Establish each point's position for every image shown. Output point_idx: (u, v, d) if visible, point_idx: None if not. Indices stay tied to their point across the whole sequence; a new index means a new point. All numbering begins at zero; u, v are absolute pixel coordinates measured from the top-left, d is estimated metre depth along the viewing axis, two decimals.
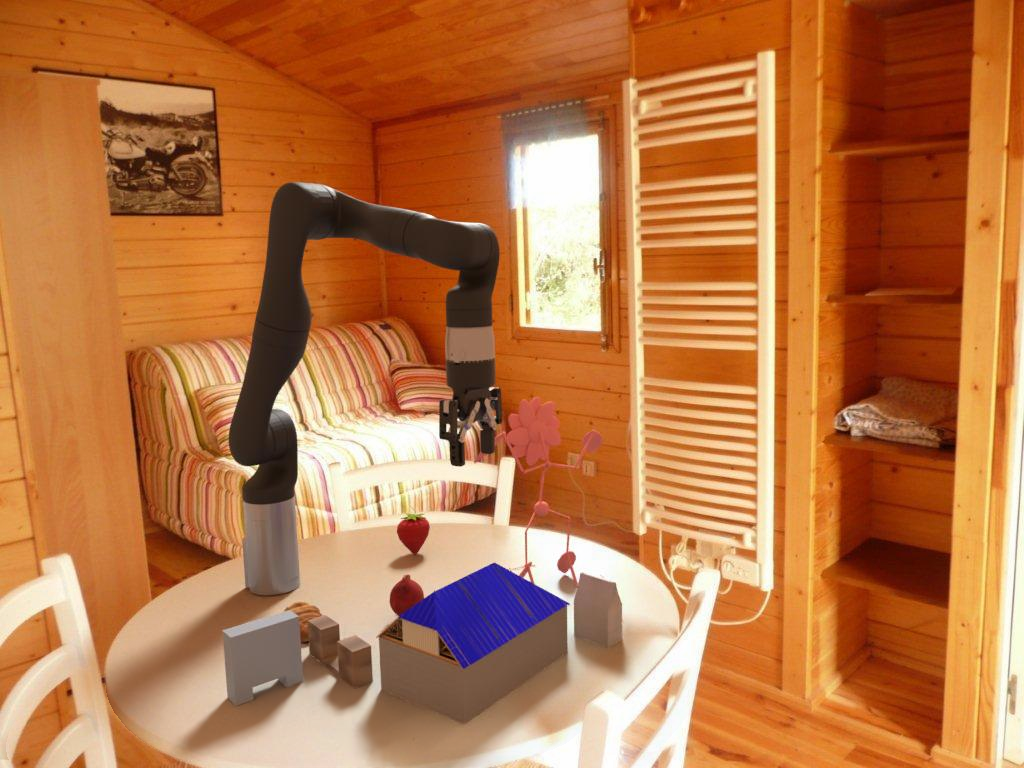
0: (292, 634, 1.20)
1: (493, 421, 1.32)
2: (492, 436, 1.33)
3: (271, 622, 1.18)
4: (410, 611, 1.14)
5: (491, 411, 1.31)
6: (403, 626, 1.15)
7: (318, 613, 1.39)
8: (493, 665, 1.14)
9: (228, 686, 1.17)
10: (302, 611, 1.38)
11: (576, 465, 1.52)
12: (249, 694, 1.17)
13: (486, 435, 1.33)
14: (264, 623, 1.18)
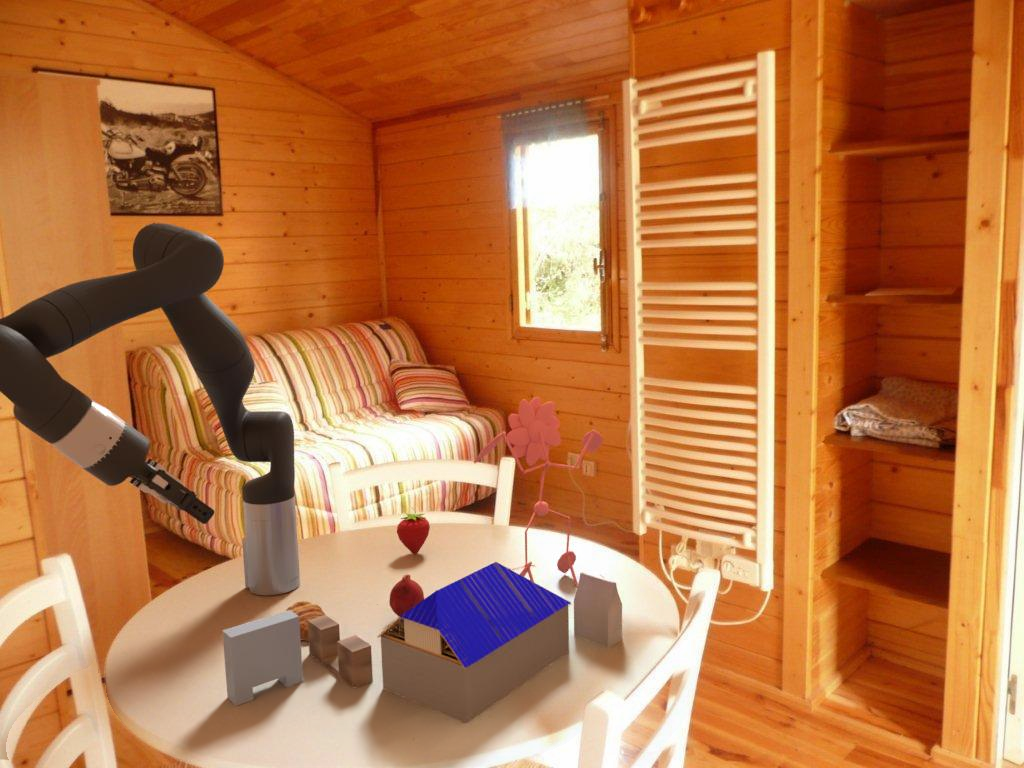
0: (292, 634, 1.20)
1: (173, 503, 1.08)
2: (187, 512, 1.10)
3: (271, 622, 1.18)
4: (412, 610, 1.14)
5: (155, 496, 1.08)
6: (405, 625, 1.15)
7: (321, 612, 1.39)
8: (495, 664, 1.14)
9: (228, 686, 1.17)
10: (304, 610, 1.38)
11: (576, 465, 1.52)
12: (249, 694, 1.17)
13: None
14: (264, 623, 1.18)
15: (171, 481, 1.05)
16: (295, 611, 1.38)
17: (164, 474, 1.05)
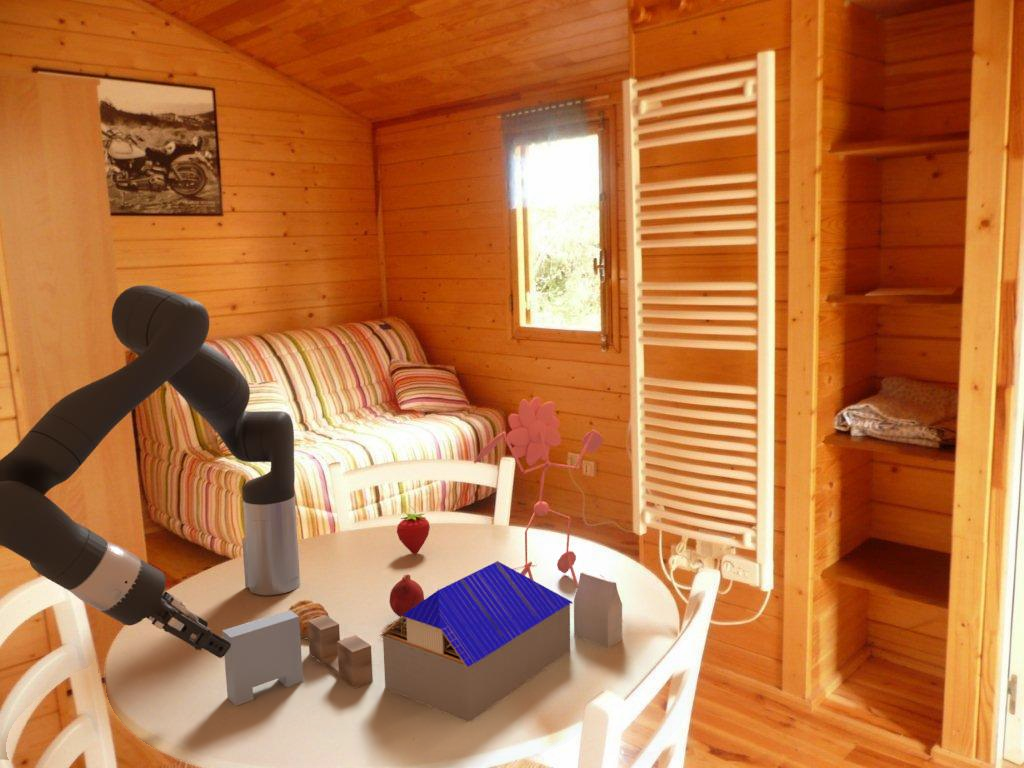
0: (292, 634, 1.20)
1: None
2: None
3: (271, 622, 1.18)
4: (414, 610, 1.15)
5: (171, 634, 1.07)
6: (407, 625, 1.15)
7: (323, 611, 1.40)
8: (497, 663, 1.14)
9: (228, 686, 1.17)
10: (307, 609, 1.39)
11: (576, 465, 1.52)
12: (249, 694, 1.17)
13: None
14: (264, 623, 1.18)
15: (187, 622, 1.05)
16: (298, 610, 1.39)
17: (180, 616, 1.04)
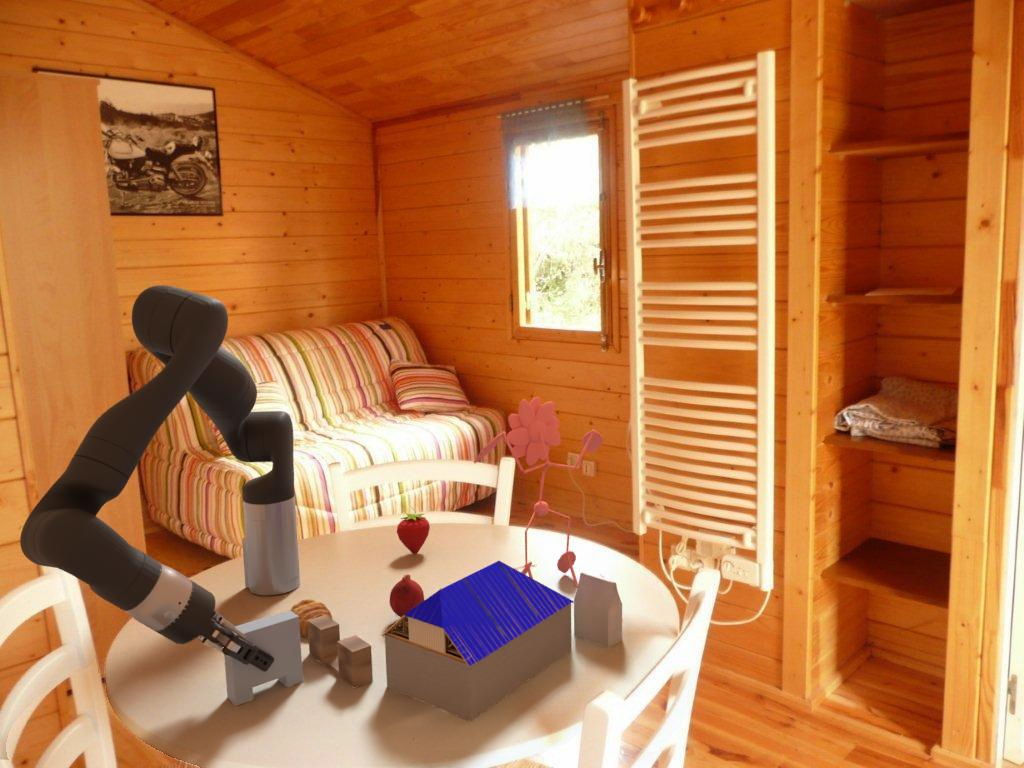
0: (292, 635, 1.20)
1: None
2: None
3: (271, 622, 1.18)
4: (416, 609, 1.15)
5: (221, 651, 1.13)
6: (409, 624, 1.16)
7: (326, 610, 1.40)
8: (499, 662, 1.15)
9: (228, 686, 1.17)
10: (310, 608, 1.39)
11: (576, 465, 1.52)
12: (249, 694, 1.17)
13: None
14: (264, 623, 1.18)
15: (244, 644, 1.11)
16: (300, 609, 1.39)
17: (239, 641, 1.10)
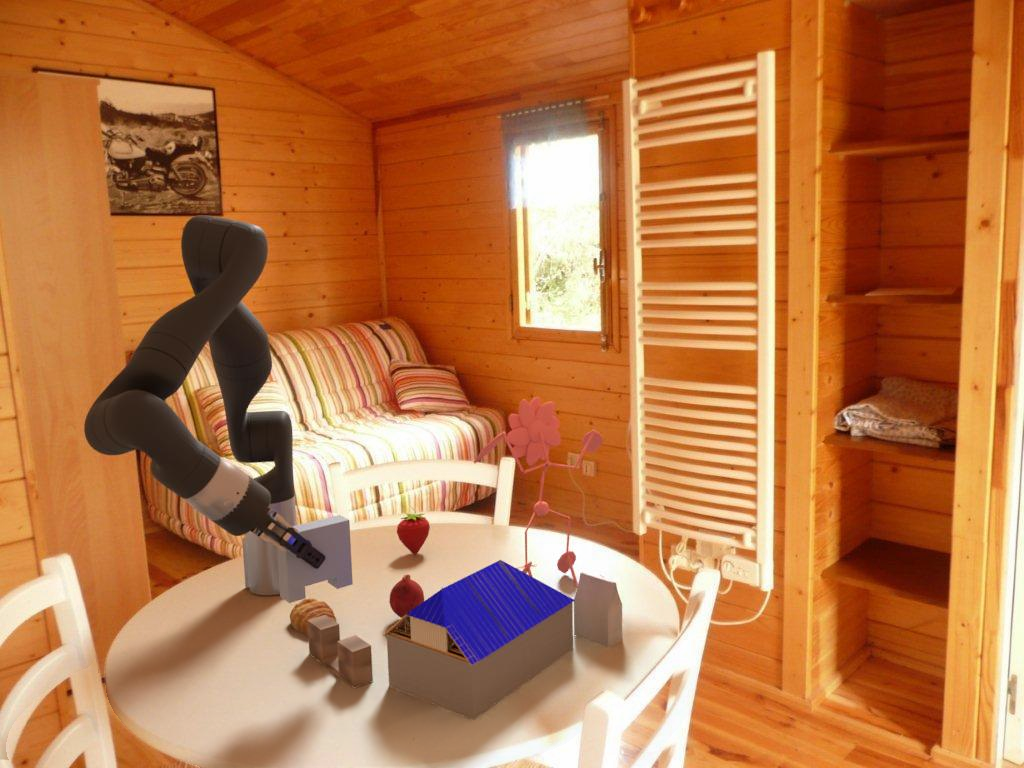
0: (343, 537, 1.23)
1: (290, 551, 1.17)
2: (301, 558, 1.19)
3: (323, 524, 1.21)
4: (418, 608, 1.15)
5: (275, 545, 1.16)
6: (411, 623, 1.16)
7: (329, 608, 1.41)
8: (501, 661, 1.15)
9: (282, 584, 1.20)
10: (313, 607, 1.39)
11: (576, 465, 1.52)
12: (302, 592, 1.19)
13: None
14: (316, 525, 1.21)
15: (298, 537, 1.13)
16: (303, 608, 1.39)
17: (295, 533, 1.12)
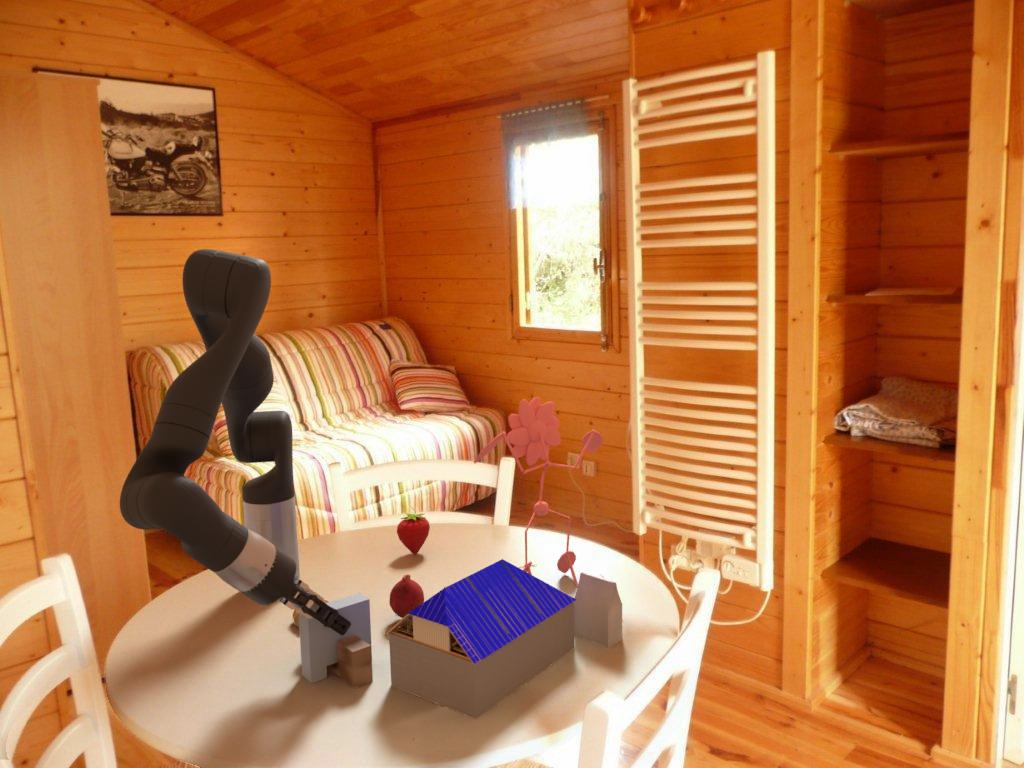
0: (363, 616, 1.25)
1: None
2: None
3: (344, 604, 1.24)
4: (421, 607, 1.15)
5: (301, 613, 1.18)
6: (413, 622, 1.16)
7: None
8: (503, 660, 1.15)
9: (304, 664, 1.22)
10: None
11: (576, 465, 1.52)
12: (323, 672, 1.22)
13: None
14: (337, 605, 1.24)
15: (322, 604, 1.15)
16: None
17: (317, 599, 1.14)
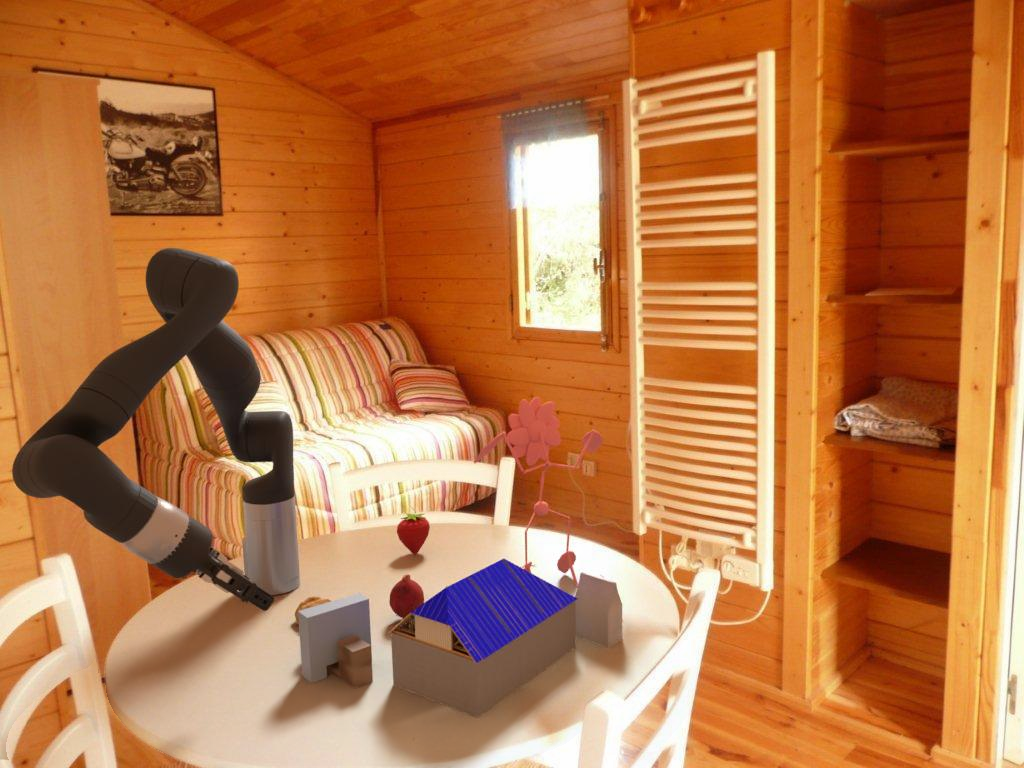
0: (362, 616, 1.26)
1: None
2: (248, 601, 1.12)
3: (343, 604, 1.24)
4: (422, 607, 1.16)
5: (218, 587, 1.11)
6: (415, 622, 1.16)
7: None
8: (505, 659, 1.15)
9: (304, 664, 1.23)
10: None
11: (576, 465, 1.52)
12: (323, 672, 1.22)
13: None
14: (337, 605, 1.24)
15: (235, 575, 1.08)
16: (309, 606, 1.40)
17: (228, 569, 1.07)
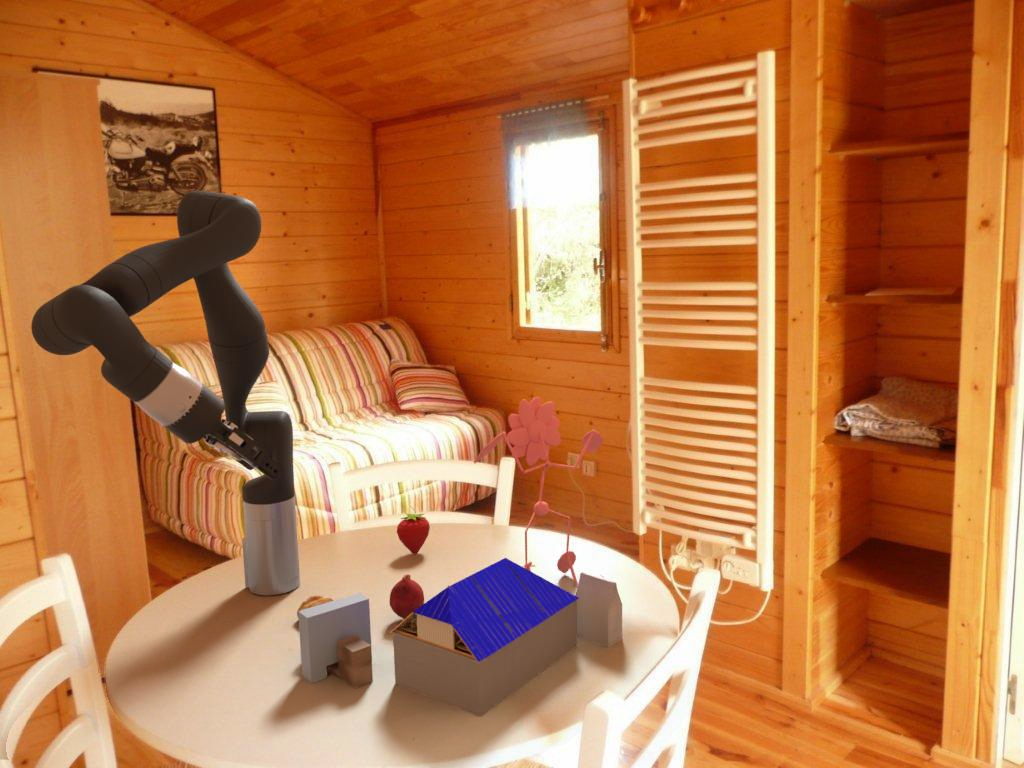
0: (362, 616, 1.26)
1: (246, 461, 1.14)
2: (259, 470, 1.16)
3: (343, 604, 1.24)
4: (425, 606, 1.16)
5: (229, 454, 1.14)
6: (418, 621, 1.16)
7: None
8: (507, 658, 1.16)
9: (304, 664, 1.23)
10: (321, 603, 1.41)
11: (576, 465, 1.52)
12: (323, 672, 1.22)
13: None
14: (337, 605, 1.24)
15: (246, 438, 1.11)
16: (311, 605, 1.41)
17: (240, 432, 1.11)
